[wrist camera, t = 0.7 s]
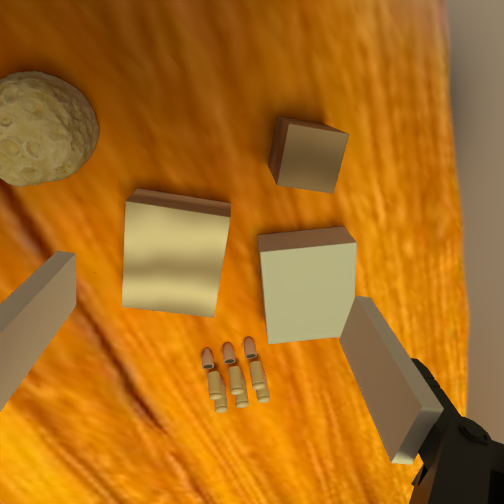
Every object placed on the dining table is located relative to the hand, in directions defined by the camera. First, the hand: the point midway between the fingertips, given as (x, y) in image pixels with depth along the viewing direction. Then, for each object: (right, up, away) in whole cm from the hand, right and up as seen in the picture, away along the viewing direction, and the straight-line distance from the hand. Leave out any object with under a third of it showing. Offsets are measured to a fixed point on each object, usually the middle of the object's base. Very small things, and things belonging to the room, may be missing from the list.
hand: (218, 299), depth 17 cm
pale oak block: (-7, +3, +24) cm, 25 cm away
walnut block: (+6, +13, +20) cm, 25 cm away
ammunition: (-1, -13, +32) cm, 35 cm away
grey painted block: (+8, -1, +27) cm, 28 cm away
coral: (-18, +15, +18) cm, 29 cm away
